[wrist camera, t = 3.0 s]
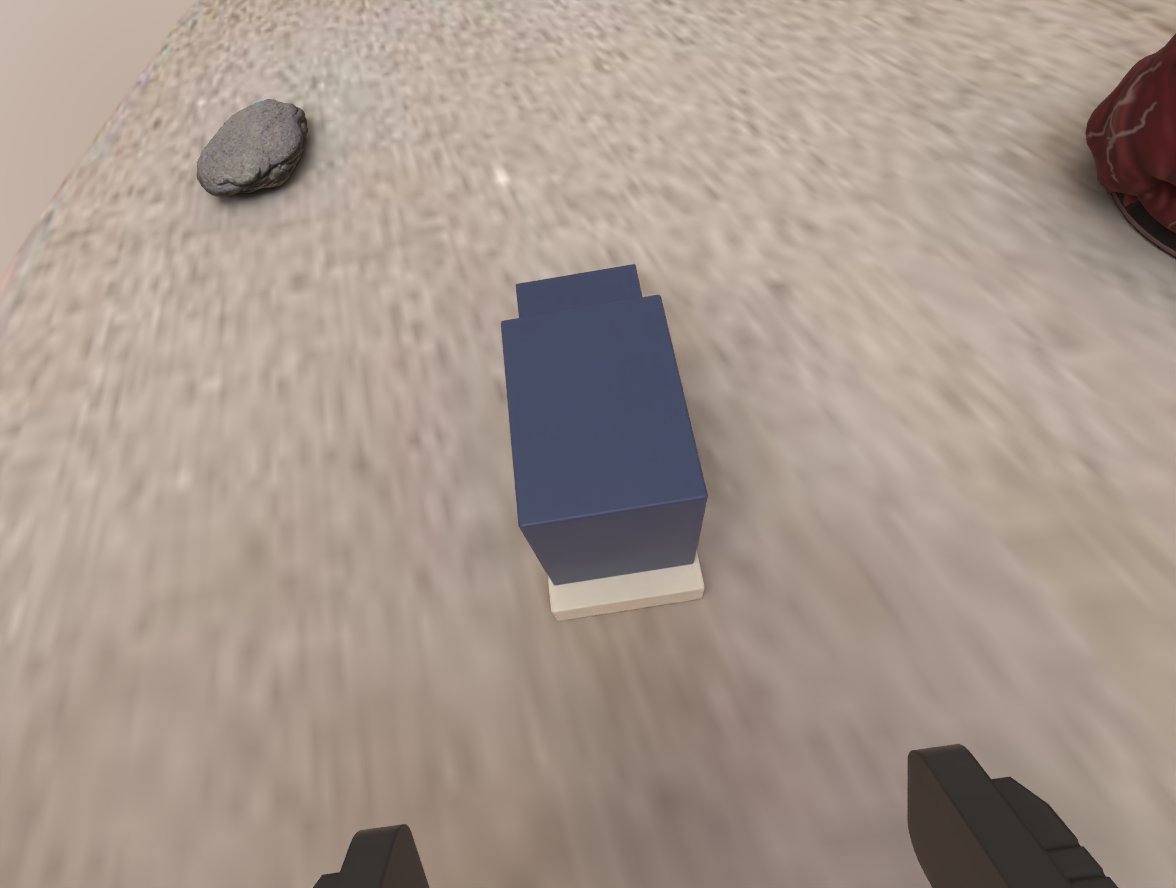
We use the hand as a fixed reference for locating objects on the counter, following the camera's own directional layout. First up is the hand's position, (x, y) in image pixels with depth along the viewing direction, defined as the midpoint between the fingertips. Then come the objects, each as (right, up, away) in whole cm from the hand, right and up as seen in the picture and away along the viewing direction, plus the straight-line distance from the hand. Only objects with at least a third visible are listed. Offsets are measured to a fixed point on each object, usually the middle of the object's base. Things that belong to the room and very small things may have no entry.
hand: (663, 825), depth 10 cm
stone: (-22, +24, +31) cm, 45 cm away
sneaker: (0, +5, +19) cm, 20 cm away
